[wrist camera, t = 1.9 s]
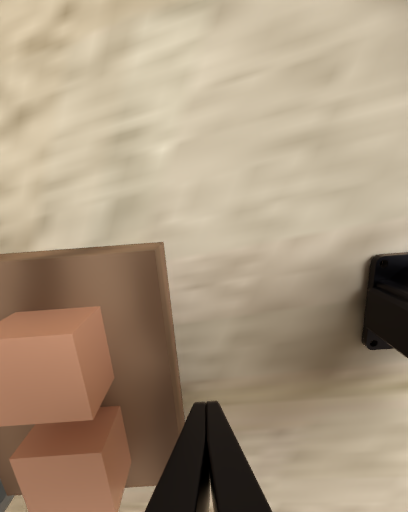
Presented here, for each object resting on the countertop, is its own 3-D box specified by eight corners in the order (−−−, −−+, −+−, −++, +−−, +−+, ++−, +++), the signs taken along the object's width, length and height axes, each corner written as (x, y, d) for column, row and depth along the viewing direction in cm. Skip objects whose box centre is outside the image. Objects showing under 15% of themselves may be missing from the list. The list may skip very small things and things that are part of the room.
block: (120, 405, 13) (101, 452, 10) (131, 461, 14) (116, 516, 11) (45, 410, 13) (8, 459, 10) (62, 466, 14) (32, 522, 11)
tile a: (99, 305, 11) (72, 333, 9) (114, 377, 12) (93, 420, 10) (15, 312, 11) (-36, 341, 9) (36, 383, 12) (-4, 426, 10)
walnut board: (163, 242, 13) (154, 250, 11) (187, 443, 17) (185, 483, 14) (-33, 256, 13) (-85, 268, 11) (35, 453, 17) (6, 496, 14)
